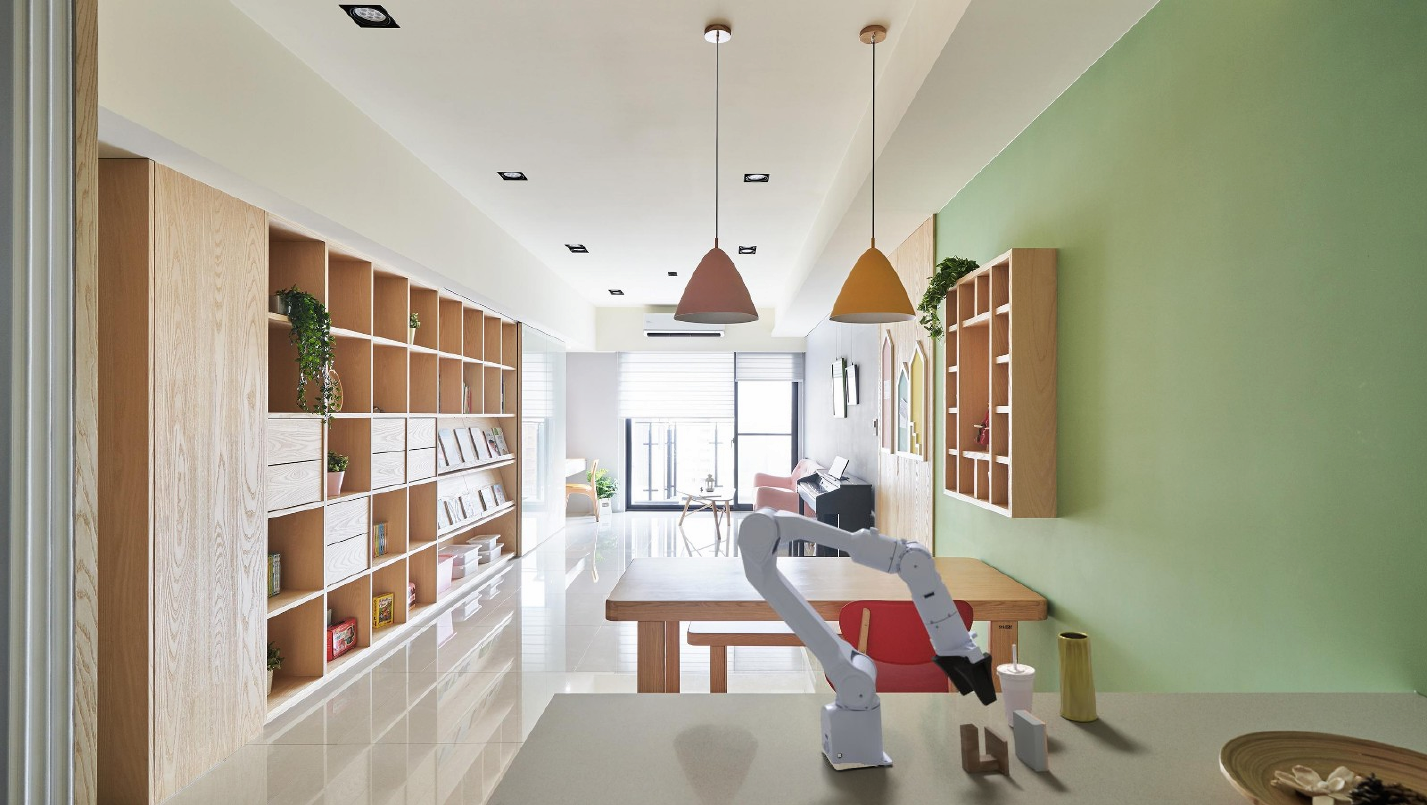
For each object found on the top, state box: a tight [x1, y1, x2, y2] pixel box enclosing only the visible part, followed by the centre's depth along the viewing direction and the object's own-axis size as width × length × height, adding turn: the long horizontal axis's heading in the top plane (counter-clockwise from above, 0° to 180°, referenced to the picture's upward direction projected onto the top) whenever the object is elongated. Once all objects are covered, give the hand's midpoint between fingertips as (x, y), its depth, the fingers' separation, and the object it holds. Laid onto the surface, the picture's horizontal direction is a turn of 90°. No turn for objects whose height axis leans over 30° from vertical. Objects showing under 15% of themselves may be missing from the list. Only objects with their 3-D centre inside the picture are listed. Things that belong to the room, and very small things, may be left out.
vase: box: [1057, 631, 1099, 723], centre depth 136 cm, size 6×6×14 cm
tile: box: [1013, 710, 1049, 773], centre depth 119 cm, size 2×6×7 cm, turn 8°
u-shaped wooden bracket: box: [959, 723, 1010, 776], centre depth 118 cm, size 6×6×6 cm
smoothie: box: [996, 644, 1037, 729], centre depth 134 cm, size 6×6×14 cm
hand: (979, 697), depth 119 cm, fingers open, 7 cm apart
